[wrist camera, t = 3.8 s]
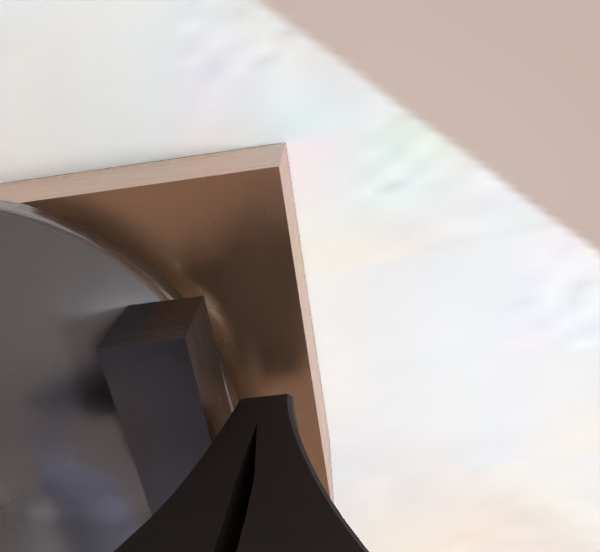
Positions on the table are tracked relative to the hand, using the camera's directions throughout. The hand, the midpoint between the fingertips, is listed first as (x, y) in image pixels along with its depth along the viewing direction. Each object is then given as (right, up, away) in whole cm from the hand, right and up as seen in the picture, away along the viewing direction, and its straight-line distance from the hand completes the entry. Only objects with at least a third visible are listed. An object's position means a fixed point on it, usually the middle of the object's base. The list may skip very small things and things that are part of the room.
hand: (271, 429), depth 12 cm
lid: (-7, 0, +2) cm, 8 cm away
